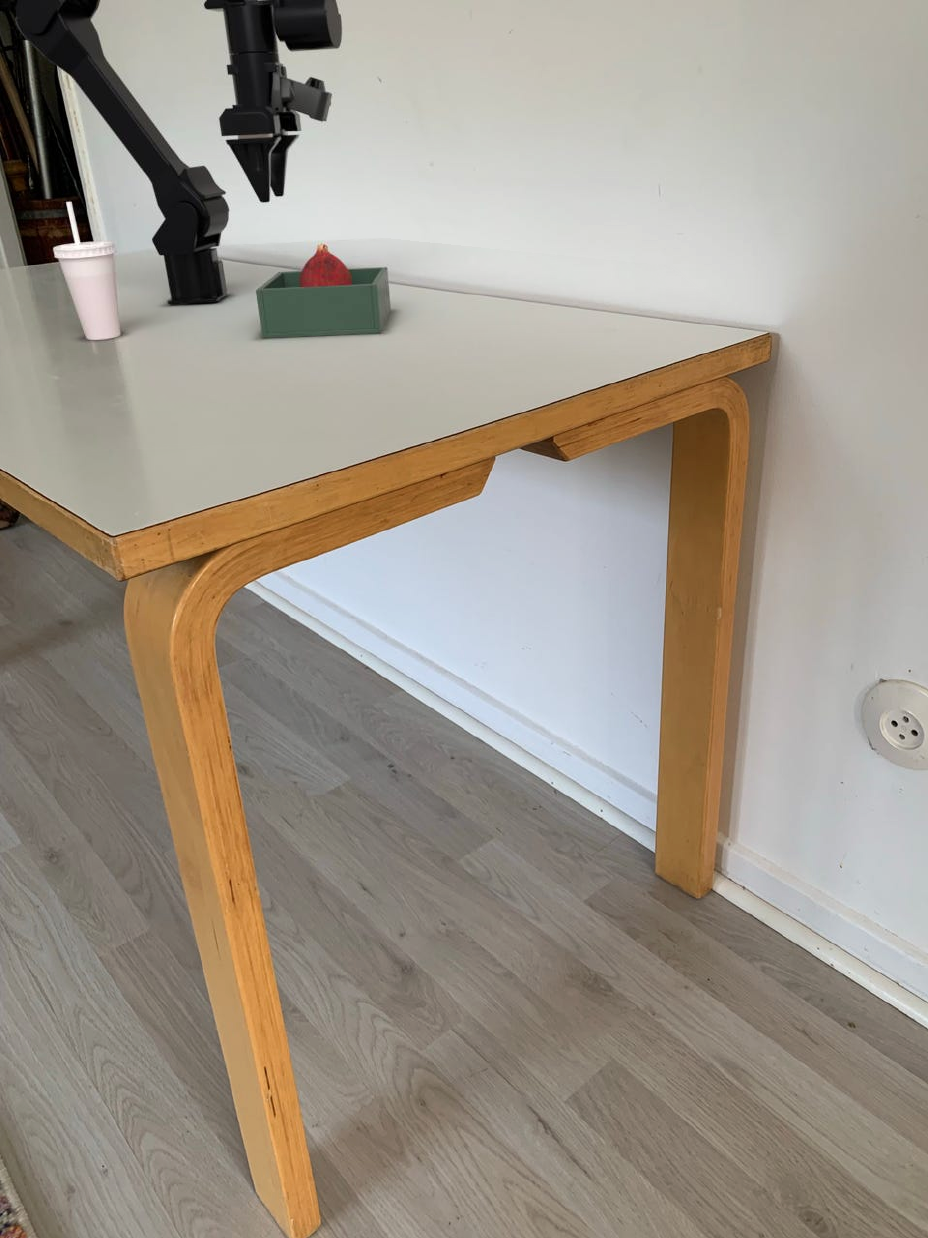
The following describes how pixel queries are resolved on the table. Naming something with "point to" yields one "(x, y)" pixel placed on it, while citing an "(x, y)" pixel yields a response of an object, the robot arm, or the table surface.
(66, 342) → the table surface
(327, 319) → the green storage bin
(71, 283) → the smoothie
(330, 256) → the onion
